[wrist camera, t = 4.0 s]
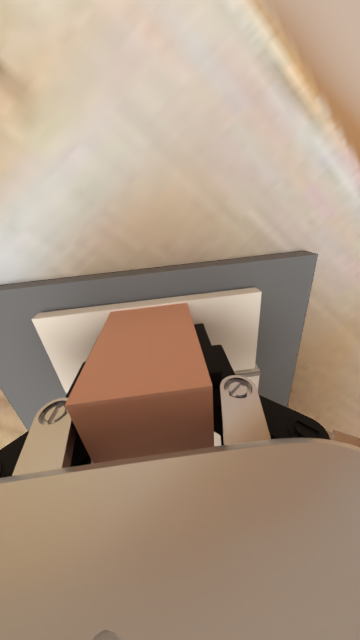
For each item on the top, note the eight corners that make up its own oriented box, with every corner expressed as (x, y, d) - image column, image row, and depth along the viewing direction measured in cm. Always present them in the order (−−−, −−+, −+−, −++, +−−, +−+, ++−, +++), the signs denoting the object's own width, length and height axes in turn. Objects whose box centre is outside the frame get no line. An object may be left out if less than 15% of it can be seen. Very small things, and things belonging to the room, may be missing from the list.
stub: (249, 360, 14) (316, 469, 8) (70, 384, 14) (2, 516, 8) (255, 287, 12) (354, 363, 6) (39, 312, 12) (-94, 423, 5)
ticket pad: (274, 425, 20) (286, 448, 18) (60, 456, 19) (49, 482, 17) (304, 250, 13) (329, 257, 11) (-40, 289, 12) (-77, 304, 10)
